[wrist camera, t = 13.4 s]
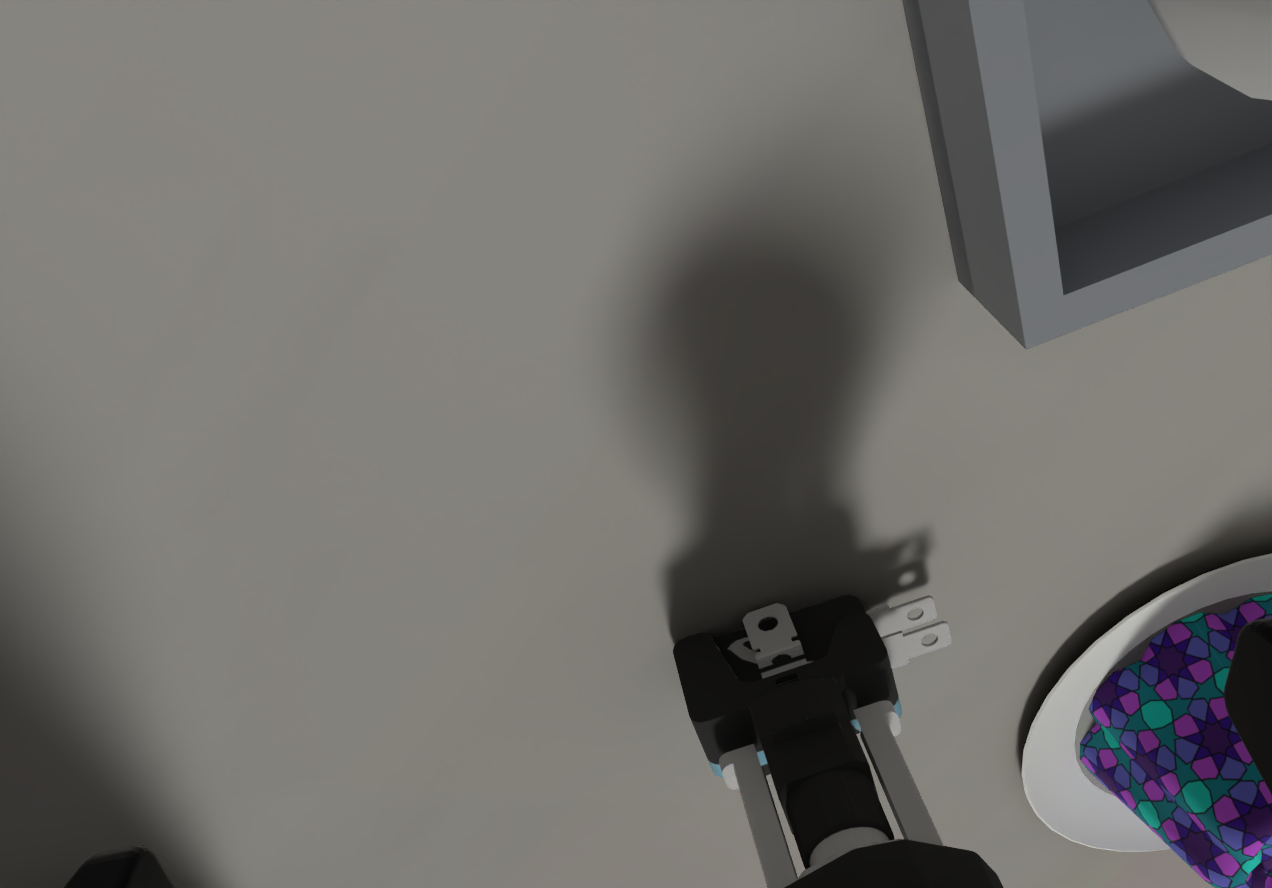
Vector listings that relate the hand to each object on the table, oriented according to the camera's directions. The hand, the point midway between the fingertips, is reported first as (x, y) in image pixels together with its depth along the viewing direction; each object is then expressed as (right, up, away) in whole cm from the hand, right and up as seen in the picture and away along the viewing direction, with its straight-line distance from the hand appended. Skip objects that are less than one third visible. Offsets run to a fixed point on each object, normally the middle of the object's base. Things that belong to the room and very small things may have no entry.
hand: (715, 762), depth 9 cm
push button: (+3, -2, +18) cm, 18 cm away
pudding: (+16, -5, +22) cm, 28 cm away
